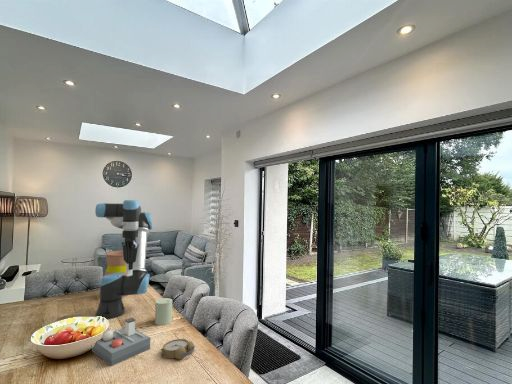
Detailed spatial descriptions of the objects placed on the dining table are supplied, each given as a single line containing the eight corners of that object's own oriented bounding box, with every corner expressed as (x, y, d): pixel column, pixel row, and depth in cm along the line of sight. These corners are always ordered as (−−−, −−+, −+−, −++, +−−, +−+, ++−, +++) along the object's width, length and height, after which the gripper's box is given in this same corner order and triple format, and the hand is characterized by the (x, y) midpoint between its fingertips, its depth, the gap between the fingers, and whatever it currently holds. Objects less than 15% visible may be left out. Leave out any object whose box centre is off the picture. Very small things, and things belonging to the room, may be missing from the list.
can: (166, 326, 148) (167, 303, 148) (151, 324, 150) (151, 302, 150) (175, 319, 157) (175, 297, 157) (160, 317, 159) (160, 296, 159)
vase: (94, 298, 191) (96, 254, 192) (115, 289, 212) (117, 249, 214) (123, 300, 187) (124, 255, 189) (141, 290, 209) (143, 250, 210)
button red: (109, 350, 117) (109, 341, 118) (118, 347, 120) (119, 337, 121) (113, 354, 115) (114, 344, 115) (123, 350, 118) (123, 340, 118)
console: (91, 350, 122) (91, 337, 122) (128, 336, 136) (129, 324, 136) (111, 365, 111) (112, 351, 111) (150, 348, 124) (150, 336, 124)
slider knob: (124, 334, 126) (125, 319, 127) (131, 332, 129) (131, 317, 129) (128, 336, 124) (128, 321, 125) (135, 334, 127) (135, 319, 127)
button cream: (101, 341, 122) (101, 332, 122) (110, 338, 125) (110, 329, 126) (105, 344, 120) (105, 334, 120) (114, 340, 123) (114, 331, 123)
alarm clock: (175, 337, 130) (200, 338, 123) (176, 348, 129) (201, 350, 122) (156, 348, 120) (182, 350, 113) (157, 360, 119) (183, 363, 112)
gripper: (117, 229, 143) (115, 274, 143) (129, 231, 135) (128, 279, 135) (131, 228, 149) (129, 272, 149) (144, 230, 141) (142, 276, 141)
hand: (129, 275), depth 142 cm, fingers closed
